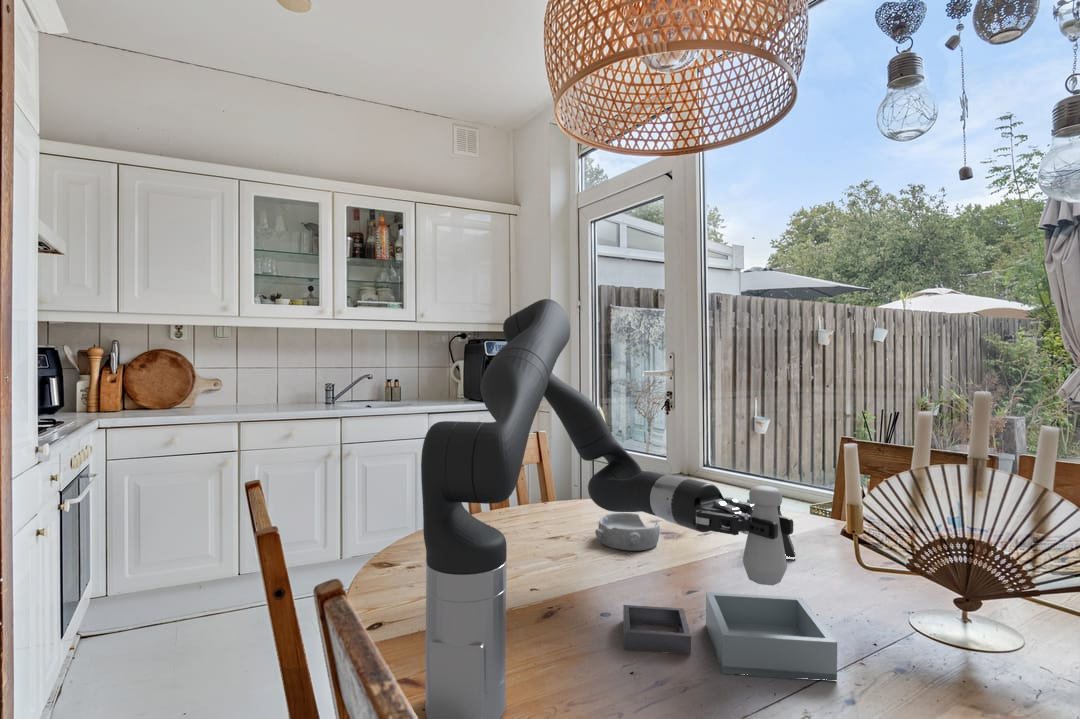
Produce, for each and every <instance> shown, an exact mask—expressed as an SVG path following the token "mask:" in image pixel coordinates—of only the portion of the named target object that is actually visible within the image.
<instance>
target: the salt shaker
mask: <svg viewBox="0 0 1080 719" xmlns="http://www.w3.org/2000/svg"><path fill="white" fill-rule="evenodd" d="M748 496H749V498H748V499H750V502H751V503H752V504H754V508H753V514H752V517H756V518H759V519H765V520H768V521H772V522H775V523H777V525H778V537H777V538H776V539H769V538H766V537H762V536H759V535H755V534H752V533H750V534H747V536H746V540H745V541H746V542H745V546H744V551H743V555H742V563H743V567H744V569H745V572H746V575H747V578H748V580H749V581H752V582H754V583H756V584H758V585H766V586H775V585H778V584H779V583H781V582H782V579H783V578H784V575H785V573H786V571H787V568H788V562H787V560H786V556H785V550H784V544H783V538H782V532H781V526H780V520H779V514H778V509H777V506H780V507H781V505H782V503H783V494H782V492H781V490H780V489H779V488H776V487H774V486H769V485H755V486H753V487H751V488H750V489H749V492H748Z"/></svg>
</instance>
